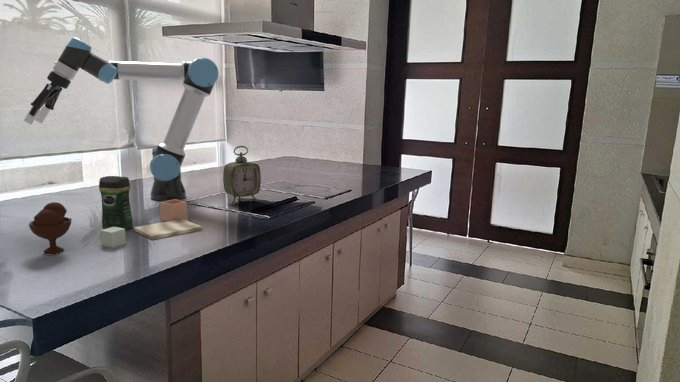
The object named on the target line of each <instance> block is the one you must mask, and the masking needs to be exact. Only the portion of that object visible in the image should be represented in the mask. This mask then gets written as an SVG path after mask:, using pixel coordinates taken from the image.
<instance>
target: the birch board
mask: <svg viewBox="0 0 680 382" xmlns="http://www.w3.org/2000/svg"><path fill="white" fill-rule="evenodd" d="M133 229H134V231H135V232H136V233H138V234H140V235H142V236H144V237H146V238H148V239H150V240H151V241H152V240H157V239H162V238H168V237H172V236H177V235H182V234H183V235H184V234H187V233H193V232H197V231H203V228H202V226H201V225H198V224H196V223H194V222H192V221H189V220H185V219H178V220H173V221H167V222H166V221H162V222H157V223H150V224H145V225H140V226H134V227H133Z"/></svg>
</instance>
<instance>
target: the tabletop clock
mask: <svg viewBox="0 0 680 382" xmlns="http://www.w3.org/2000/svg"><path fill="white" fill-rule="evenodd" d="M240 148H245V149H246V152H244V153H243V152H241V151H240V152H239V153H236V150H237V149H240ZM248 152H249V149H248V147H246V146H245V145H239V146H236V147H234V149H233V154H234V155H235V156H237V157H236V158H235V160H234V161H232V162H228V163H225V165H224V167H223V175H222V177H223V178H222V179H223V180H222V181H223V188H224V189H223V190H224V193H226V194H228V195H231V196H233V200H232V201H231V204H232V205H233V206H234V205H236V203H237V202H236V201H238V202H241V201H242V198H243V197H245V198H246V197H250V196H251V197H252V198H253V199H252V200H253V202H258V201H257V200H258V198H257V197H255V196H254V195H257V194H259V193H260V190H261V184H262V182H261V181H262V178H261V175H262V173H261V168H260V166H259V164H257V163H254V162H249V161H248V159H247V157H246V156H245V155H247V154H248ZM236 198H237V200H236Z"/></svg>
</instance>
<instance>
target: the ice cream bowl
mask: <svg viewBox="0 0 680 382" xmlns="http://www.w3.org/2000/svg"><path fill="white" fill-rule="evenodd" d="M67 212H68V211H67V208H66V207H65V206H64V205H63V204H62V203H60V202H55V201H54V202H53V201H52V202H49V203H47V204H45V206H44V207H43V208H42V209H41V210H39V212H38V213H37V214H36V215H34V216H33V220H32V221H30V222H29V223H28V227H29V229H30V231H31V232H32V233H33V234H34V235H36V236H37V237H39V238H41V239H43V240H48V242H49V247H47V248H46V249H44V250H43V253H45V254H54V255H57V254H56V253H59V254H61V253H60V252H62V253H64V252H65V249H64V247H60V246H57V239H59V238H61V237H63V236H64V235H66V233H68V231H69V229H70V228H71V224H72V218H71V217H67V216H66V214H67ZM63 251H64V252H63ZM43 253H42V254H43ZM45 254H44V255H45Z"/></svg>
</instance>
